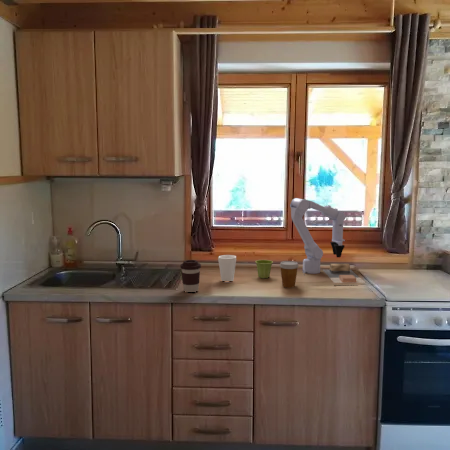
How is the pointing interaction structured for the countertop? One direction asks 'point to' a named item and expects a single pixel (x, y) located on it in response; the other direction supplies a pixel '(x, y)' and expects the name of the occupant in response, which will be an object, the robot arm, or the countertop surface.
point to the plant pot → (263, 268)
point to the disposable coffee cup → (288, 273)
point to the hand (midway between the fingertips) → (336, 255)
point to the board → (335, 276)
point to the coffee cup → (190, 275)
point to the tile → (347, 278)
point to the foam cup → (227, 267)
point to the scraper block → (339, 268)
